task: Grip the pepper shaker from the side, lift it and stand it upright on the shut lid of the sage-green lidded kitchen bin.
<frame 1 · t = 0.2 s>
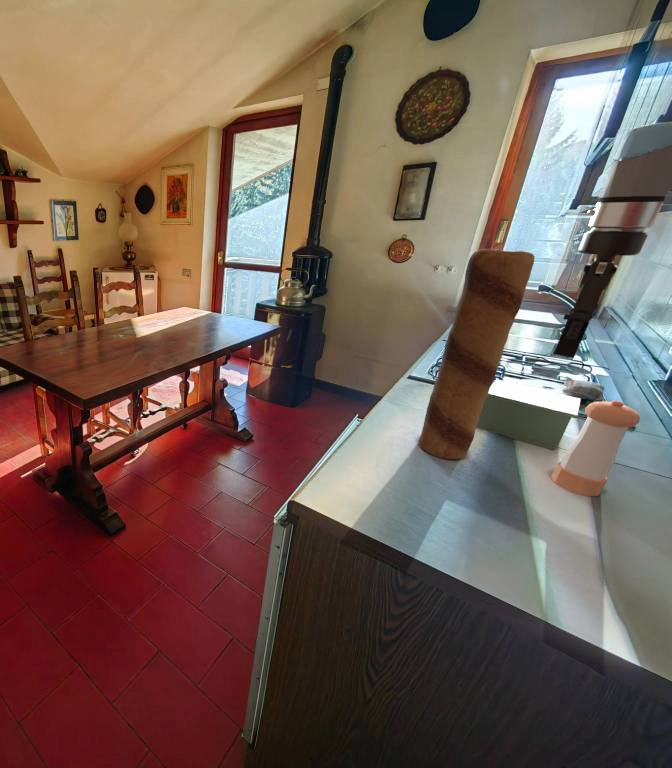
hand: (565, 348, 75), 28 cm above the counter, tool pointing down, fingers open, 13 cm apart
pepper shaker: (574, 485, 80), on the counter
bin: (516, 429, 102), on the counter
bin lid: (532, 397, 98), point 9 cm above the counter, hinge at 0.0°
packaged food: (578, 397, 123), on the counter
wafer roll: (438, 449, 93), on the counter
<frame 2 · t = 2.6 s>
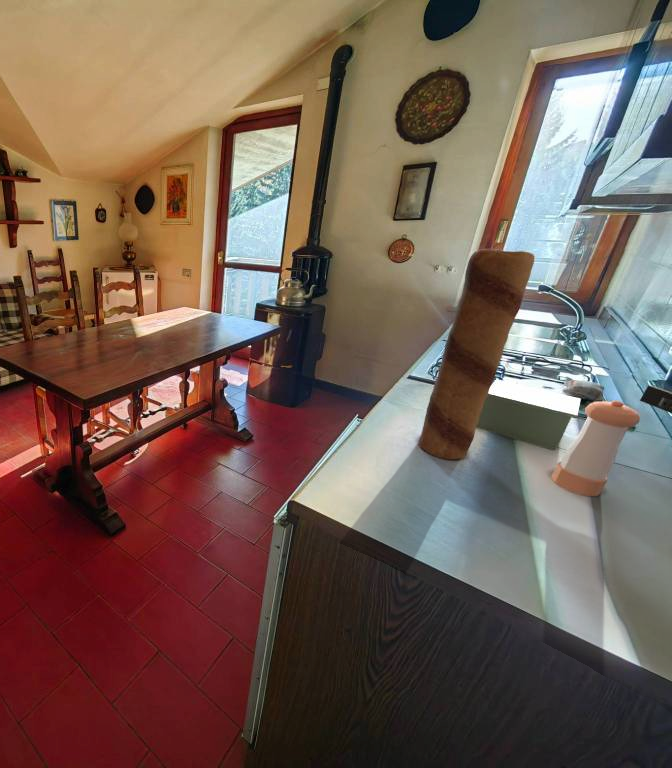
nothing on the counter moved.
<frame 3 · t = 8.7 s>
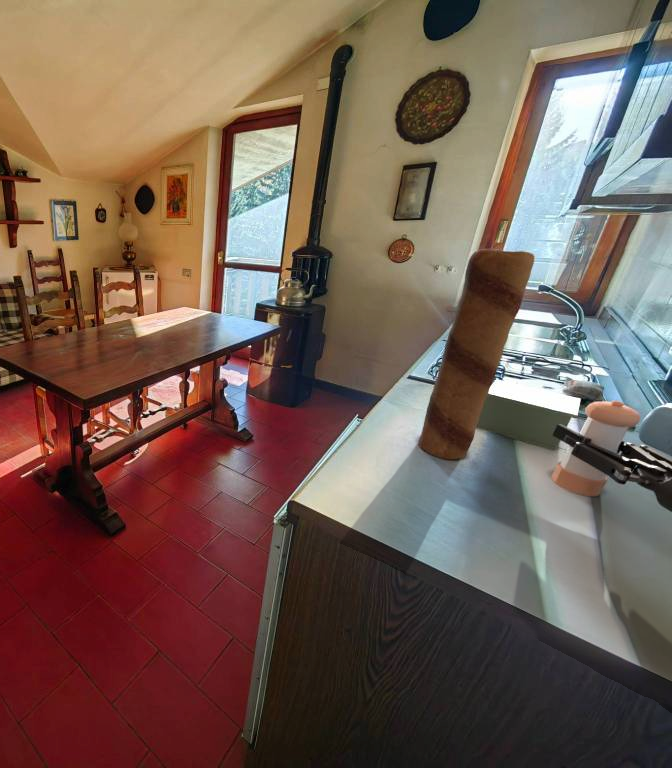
hand: (572, 430, 81), 10 cm above the counter, tool horizontal, fingers closed on pepper shaker, 5 cm apart
pepper shaker: (574, 485, 80), on the counter, touching gripper
everything else where it was.
when the fingers open (20 cm above the counter, at t = 16.8 s): pepper shaker stays where it is, point 10 cm above the counter.
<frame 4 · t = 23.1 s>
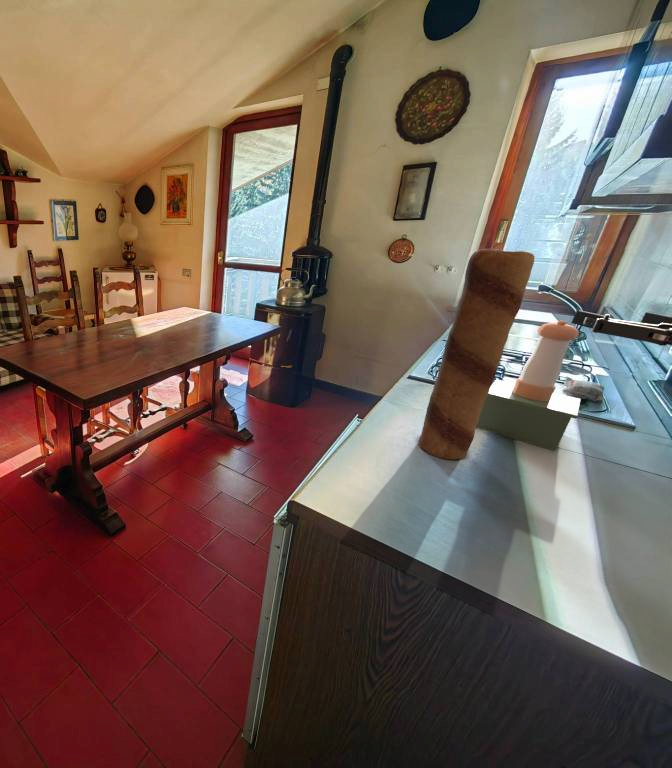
hand: (609, 317, 81), 32 cm above the counter, tool horizontal, fingers open, 13 cm apart
pepper shaker: (530, 395, 99), point 10 cm above the counter
bin lid: (532, 397, 98), point 9 cm above the counter, hinge at -0.2°, touching bin
everything else where it was.
at the end: pepper shaker inside the target area on the bin (0.0 cm from its centre), point 9.6 cm above the bin's base; pepper shaker tilted 0°; the gripper is holding nothing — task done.
